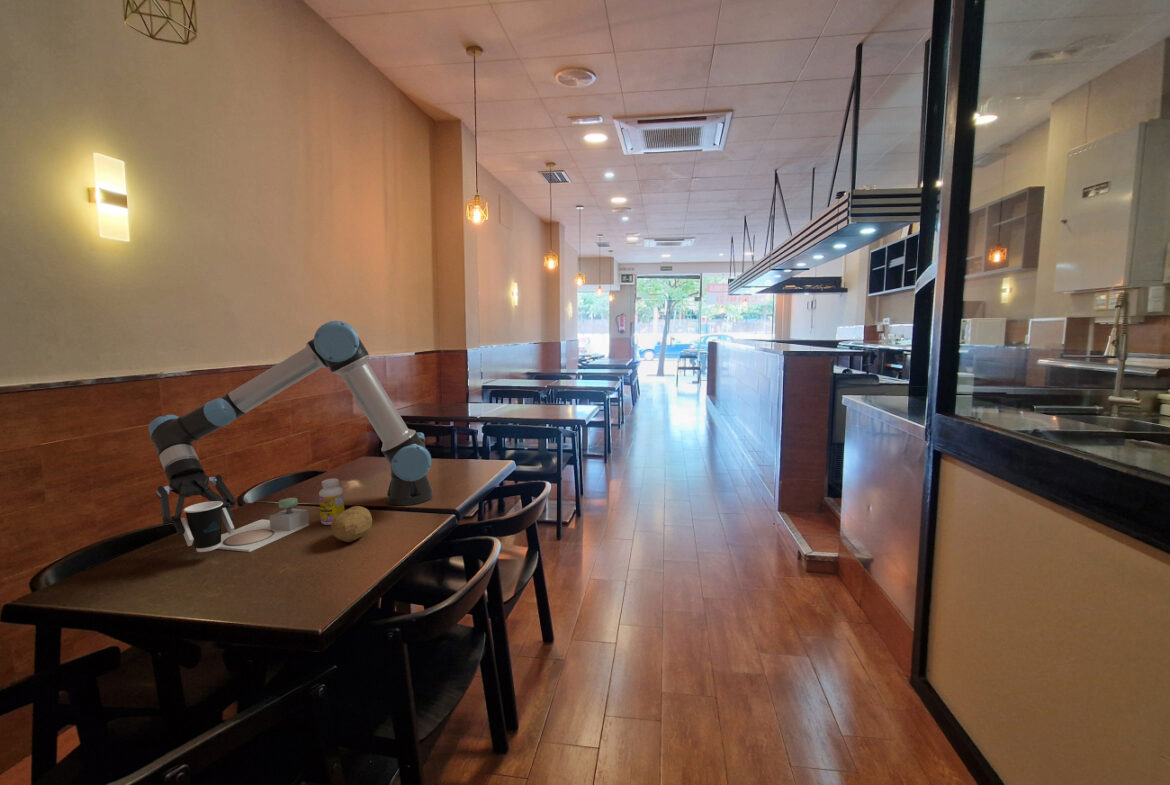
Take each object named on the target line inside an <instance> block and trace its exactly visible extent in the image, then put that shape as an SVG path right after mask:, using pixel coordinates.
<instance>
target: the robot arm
mask: <svg viewBox="0 0 1170 785" xmlns="http://www.w3.org/2000/svg"><path fill="white" fill-rule="evenodd" d="M369 358H370V353H369V351H368V350H367V348H366V347H365V345H364V343H363V342H362V340H361V339H360V337H359V334H358V333H357V330H356V329H355V328H354V327H353V326H352V325H351V324H349V323H347V322H344V321H339V320H331V321H328V322H326V323H324V324H321V325H320V326H319V328H318V329H317V330H316V331H315V333H314V336H313V338H312V339H311V340H309V341H308V342H306V344H305V347H304V348H302V349H301V350H299V351H297V352H296V353H294V354H292V355H290V356H289V357H287V358H285V359H284V360H283V361H281V362H279V363H277V364H276V365H274V366H272V367H270V368H268V369H267V370H265V371H264V372H262V373H260V374H258V375H257V376H255V377H253V378H251V379H250V380H248V381H247V382H245V383H243V384H241V385H240V386H238V387H236V388H235V389H233V390H232V391H229V393H227V394H225V395H222V396H221V397H219V398H218V397H217V398H215V399H213V400H210V401H208V402H206V403H205V404H202V405H201V406H199V407H197V408H195V409H194V410H191V411H189V412H187V413H185V414H184V415H182V416H178V415H175V414H165V415H164V416H157V417H156V418H154V419H153V420H151V421H150V423H149V425H148V432H149V435H150V440H151V442H152V443H153V446H154V449H155V450H156V454H157V455H158V458H159V460H160V463H161V465H162V468H163V471H164V473H165V475H166V479H167V481H168V483H169V484H168V485H166V486H162V485H160V486H158V487H157V489H156V493H155V494H156V496H157V497H158V499H159V501H160V510H161V521H162V525H163V526H164V525H165V526H167V525H169V524H172V527H174V528H175V531H176V533H177V535H183V538H184V539H185V540H184V541H186V542H185V543H186V545H187V546H188V547H190V546H192V545H193V544H194V543H193V540H194V539H193V536H192V534H191V531H190V528H189V524H188V520H187V518H186V517H182V512H183V509H184V508H183V507H184V504H185V498H187V499H188V498H190V497H192V496H193V497H194V496H201V497H202V498H205V499H207V500H208V502H210V501H221V502H223V505H222V521H223V524H224V526H225V528H226V532H228V533H229V535H230V534H232V533H233V531H234V530H235V525H234V524H233V520H234V518H235V516H234V514H233V511H232V509H234V508H235V507H236V504H237V502H238V501H237V499H236V497H234V495H233V493H232V492H231V491H230V490H229V489H228V488H229V487H227V486H226V484H225V482H224V481H223V477H222V474H217V475H216V476H211V477H209V475H207V474H206V473H205V470H204V468H203V466H202V464H201V462H200V459H199V456H198V454H197V453H196V450H195V448H194V445H193V443H195V442H197V441H199V440H201V439H202V438H204V437H207V436H208V435H210V434H212V433H214V432H216V431H218V430H219V429H221V428H225V427H226V426H228V425H230V424H232V423H233V422H235V421H236V420H238V419H239V418H241V417H242V416H244V415H245V414H247V413H248V412H250V411H251V410H253V409H255V408H257V407H258V406H260V405H261V404H263V403H265V402H266V401H269V400H270V399H271V398H273V397H275V396H277V395H278V394H279V393H281V392H283V391H285V390H287V389H288V388H290V387H292V386H293V385H295V384H297V383H298V382H300V381H301V380H304V379H305V378H307V377H308V376H310V375H312V374H313V373H314V372H316V371H318V370H319V369H321V368H322V369H323V368H324V369H327V368H329V370H330V371H331V373H332V374H334V375H337V376H340V378H341V379H342V381H343V382H344V383H345V386H346V387H347V388H348V390H349V391H350V393H351V394H352V396H353V398H354V399H355V401H356V402H357V404H358V406H359V407H360V409H361V411H362V412H363V413H364V415H365V417H366V419H367V420H368V422H369V423H370V424H371V426H372V428H373V430H374V431H375V433H376V435H377V436H378V438H379V439H380V441H381V443H382V446H381V448H380V449H381V450H380V451H381V452H382V454H383V455H384V457H385V458H386V460H387V461H388V463H389V466H390V468H389V469H390V481H389V486H388V489H387V493H386V503H387V504H389V505H392V506H409V505H416V504H421V503H424V502H427V501H429V500H431V499H433V497H434V491H433V487H432V485H431V482H430V480H429V477H428V473H429V471H430V469H431V466H432V455H431V453H430V451H429V450H428V448H426V443H425V442H426V438H425V434H424V433H423V432H417V431H416V430H415V429H411V428H408V426H407V424H406V422H405V421H404V420H403V418H402V416H401V414H400V413H399V411H398V409H397V407H396V406H395V405H394V403H393V402H392V399H391V398H390V397H389V395H388V393H387V392H386V389H385V388H384V387H383V385H382V383H381V382H380V380H379V379H378V377H377V375H376V373H375V372H374V370H373V369H372V367H371V365H370V364H369ZM209 483H210V484H212V486H213V487H215V489H216V491H217V492H218V493H219V494H217V493H216V492H215V491H214V490H213V489H212V488H211V486H209V485H208V484H209ZM170 492H173V493H174V494H177V496H178V497H177V498H178V499H177V503H176V507H175V512H174V515H172V516H171V510H170V502H169V494H170Z"/></svg>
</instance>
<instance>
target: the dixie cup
mask: <svg viewBox="0 0 1170 785" xmlns="http://www.w3.org/2000/svg"><path fill="white" fill-rule="evenodd" d="M222 505H223V502H221V501H203V502H199V503H194V504H192V505H189V506H186V507H185V508H183V512H184V513H185V518H186V521H187V524H188V526H189V529H190V531H191V534H192V536H193V539H194V540H193V543H192V544H193V547H194V549H195V550H196V552H197V553H204V552H210V551H214V550H216V548H218V547H220V542H221V535H222V521H223V520H222Z"/></svg>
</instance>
